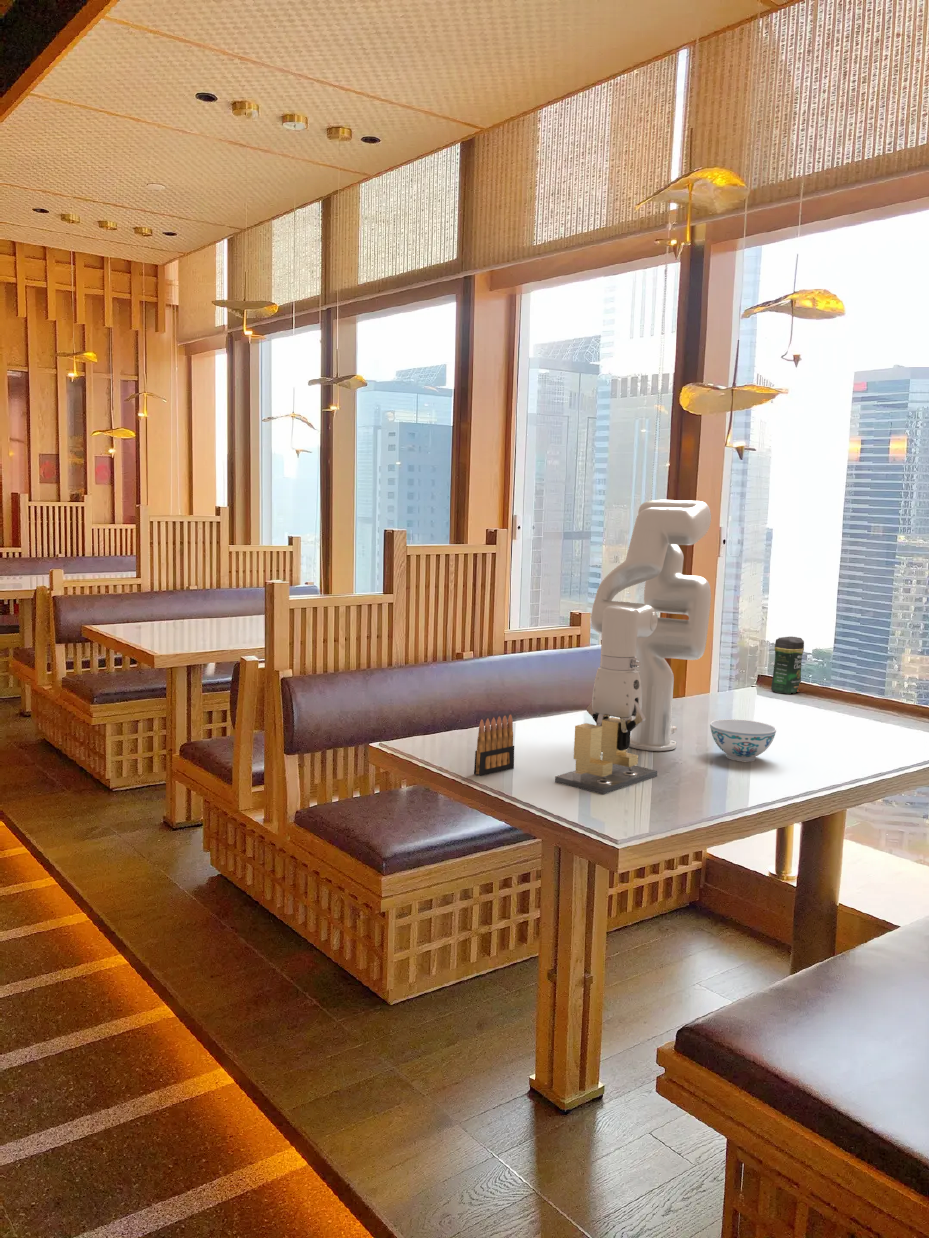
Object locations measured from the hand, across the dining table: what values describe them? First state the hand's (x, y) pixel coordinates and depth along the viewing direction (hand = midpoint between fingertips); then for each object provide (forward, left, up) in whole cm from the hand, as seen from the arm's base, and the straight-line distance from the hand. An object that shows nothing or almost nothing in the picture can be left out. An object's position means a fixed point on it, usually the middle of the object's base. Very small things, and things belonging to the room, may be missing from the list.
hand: (613, 746), depth 212 cm
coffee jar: (-135, -19, -7) cm, 136 cm away
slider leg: (0, +2, -4) cm, 5 cm away
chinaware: (-37, +12, -7) cm, 39 cm away
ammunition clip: (+17, -19, -7) cm, 26 cm away
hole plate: (+4, +1, -6) cm, 7 cm away
